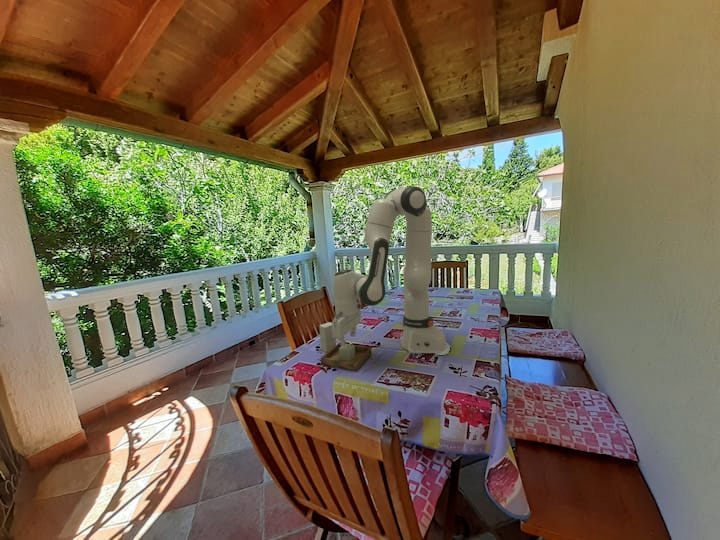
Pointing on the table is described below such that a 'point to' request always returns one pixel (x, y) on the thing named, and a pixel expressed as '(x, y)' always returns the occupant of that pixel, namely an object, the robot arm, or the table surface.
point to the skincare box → (326, 337)
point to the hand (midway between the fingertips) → (348, 340)
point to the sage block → (347, 352)
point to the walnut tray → (333, 361)
